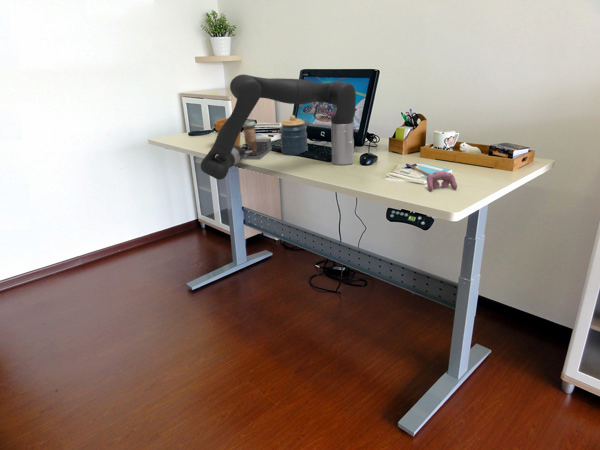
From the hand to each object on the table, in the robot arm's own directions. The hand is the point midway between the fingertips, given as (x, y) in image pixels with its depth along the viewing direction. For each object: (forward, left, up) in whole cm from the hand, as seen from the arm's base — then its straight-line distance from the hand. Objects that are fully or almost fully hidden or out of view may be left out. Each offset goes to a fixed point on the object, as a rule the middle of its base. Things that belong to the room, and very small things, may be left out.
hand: (246, 146), depth 188 cm
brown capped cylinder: (0, -6, -5) cm, 8 cm away
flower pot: (+20, -28, -7) cm, 35 cm away
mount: (0, -12, -7) cm, 14 cm away
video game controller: (-83, +29, -7) cm, 89 cm away
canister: (-18, -17, -7) cm, 26 cm away
